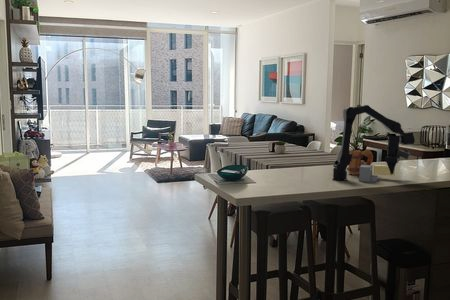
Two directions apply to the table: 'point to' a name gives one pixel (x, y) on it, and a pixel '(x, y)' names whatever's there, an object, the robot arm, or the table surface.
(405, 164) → the table surface
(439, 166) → the table surface
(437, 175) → the table surface
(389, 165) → the robot arm
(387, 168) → the pale yellow flat block
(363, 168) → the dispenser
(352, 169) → the mug
